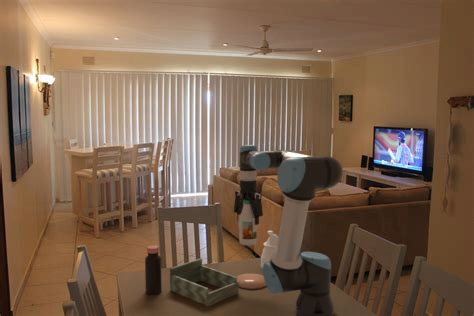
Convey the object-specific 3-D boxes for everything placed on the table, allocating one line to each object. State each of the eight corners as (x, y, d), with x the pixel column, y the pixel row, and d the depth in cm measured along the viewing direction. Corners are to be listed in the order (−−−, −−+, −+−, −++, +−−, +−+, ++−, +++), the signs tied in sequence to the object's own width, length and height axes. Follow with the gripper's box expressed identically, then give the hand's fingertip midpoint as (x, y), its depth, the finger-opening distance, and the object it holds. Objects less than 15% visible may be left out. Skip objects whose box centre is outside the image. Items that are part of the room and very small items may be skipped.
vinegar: (148, 296, 193) (148, 250, 191) (143, 290, 199) (142, 246, 196) (163, 292, 196) (163, 247, 194) (158, 287, 202) (157, 243, 200)
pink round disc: (274, 282, 209) (274, 279, 208) (253, 291, 198) (253, 288, 197) (249, 274, 219) (249, 271, 219) (228, 282, 208) (228, 279, 208)
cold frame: (238, 293, 196) (238, 270, 195) (208, 306, 183) (208, 282, 182) (200, 279, 212) (200, 258, 211) (170, 290, 199) (170, 268, 198)
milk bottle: (236, 244, 203) (236, 200, 201) (243, 240, 210) (244, 197, 208) (252, 246, 200) (252, 201, 198) (259, 242, 207) (259, 198, 205)
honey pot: (258, 269, 225) (258, 234, 224) (264, 261, 238) (264, 227, 236) (283, 272, 222) (284, 236, 220) (288, 263, 234) (289, 229, 232)
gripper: (271, 181, 198) (271, 232, 201) (236, 176, 212) (236, 224, 214) (261, 183, 193) (260, 235, 195) (225, 178, 206) (225, 227, 208)
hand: (248, 229), depth 204 cm, fingers closed on milk bottle, 8 cm apart
